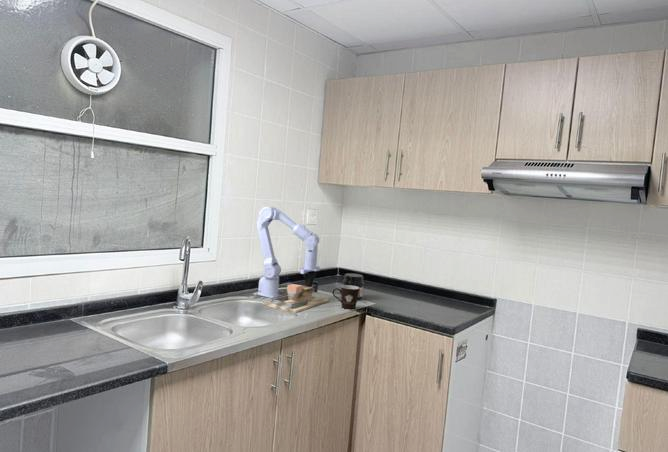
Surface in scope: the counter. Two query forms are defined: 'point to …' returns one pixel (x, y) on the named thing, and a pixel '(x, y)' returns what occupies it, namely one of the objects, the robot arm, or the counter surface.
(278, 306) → the stand
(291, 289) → the block
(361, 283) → the supplement container
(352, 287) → the coffee mug
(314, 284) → the shaft
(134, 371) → the counter surface
